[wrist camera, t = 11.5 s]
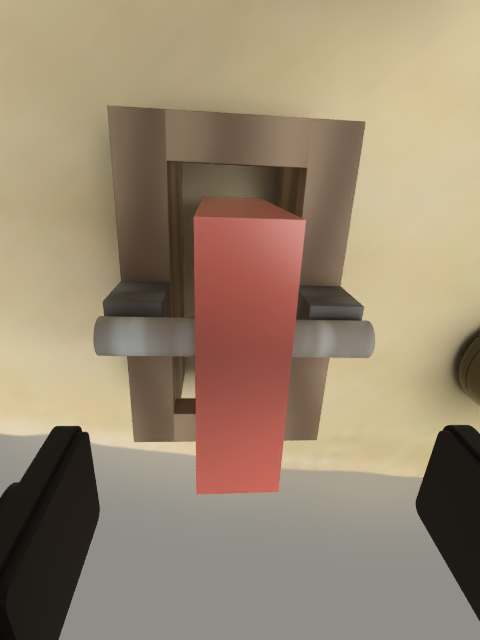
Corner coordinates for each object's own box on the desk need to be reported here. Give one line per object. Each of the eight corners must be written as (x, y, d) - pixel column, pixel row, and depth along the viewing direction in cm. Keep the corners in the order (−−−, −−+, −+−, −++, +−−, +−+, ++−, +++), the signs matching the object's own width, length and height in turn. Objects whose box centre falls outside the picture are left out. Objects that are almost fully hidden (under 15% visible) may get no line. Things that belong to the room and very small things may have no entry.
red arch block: (261, 198, 25) (306, 220, 13) (252, 363, 30) (278, 492, 18) (203, 196, 25) (193, 216, 13) (203, 363, 29) (196, 494, 17)
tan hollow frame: (317, 139, 29) (424, 100, 14) (291, 374, 37) (342, 505, 22) (142, 128, 28) (62, 75, 13) (154, 374, 36) (113, 510, 21)
